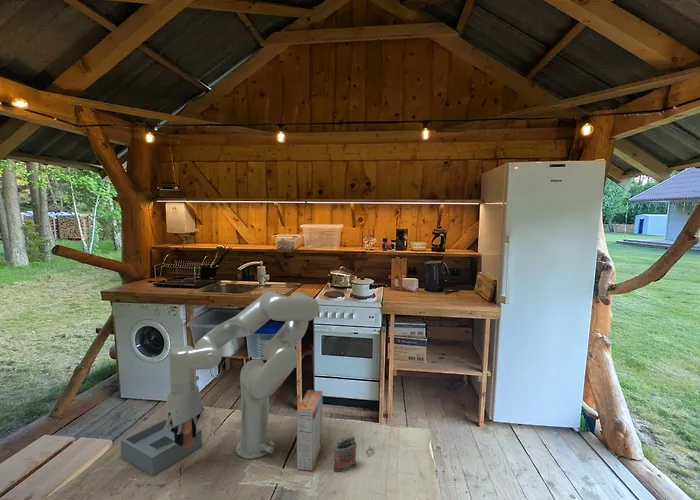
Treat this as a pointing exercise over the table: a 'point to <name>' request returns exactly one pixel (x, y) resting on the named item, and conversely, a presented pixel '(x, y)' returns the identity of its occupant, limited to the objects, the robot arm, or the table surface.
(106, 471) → the table surface
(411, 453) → the table surface
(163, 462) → the tray
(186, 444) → the peg
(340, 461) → the lighter
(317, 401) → the cracker box
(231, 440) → the table surface
